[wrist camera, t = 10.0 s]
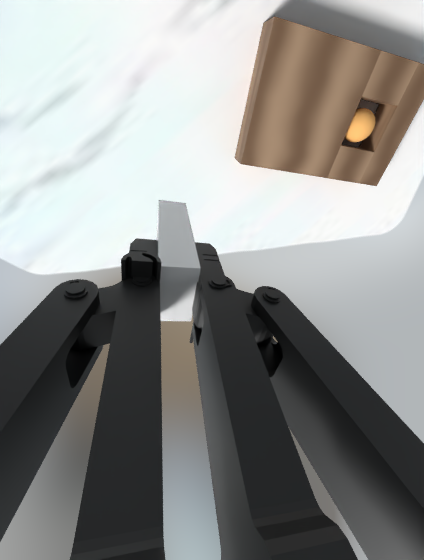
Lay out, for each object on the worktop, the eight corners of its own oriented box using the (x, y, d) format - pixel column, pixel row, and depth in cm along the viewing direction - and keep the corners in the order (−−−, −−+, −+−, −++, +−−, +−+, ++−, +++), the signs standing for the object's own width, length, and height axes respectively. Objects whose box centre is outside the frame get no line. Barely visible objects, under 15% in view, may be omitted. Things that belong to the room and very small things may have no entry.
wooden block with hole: (234, 158, 36) (240, 164, 34) (263, 23, 28) (274, 16, 26) (362, 179, 42) (376, 186, 39) (417, 70, 34) (440, 69, 31)
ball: (356, 107, 36) (343, 105, 33) (385, 111, 34) (374, 108, 31) (344, 139, 38) (331, 139, 36) (371, 145, 36) (360, 144, 33)
